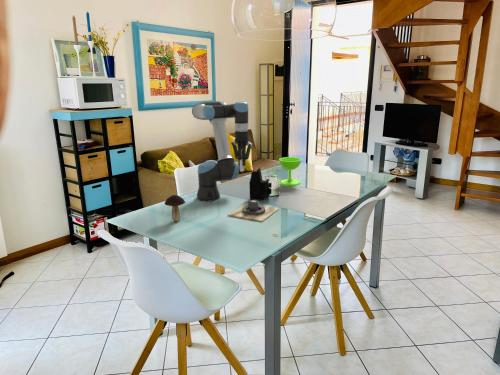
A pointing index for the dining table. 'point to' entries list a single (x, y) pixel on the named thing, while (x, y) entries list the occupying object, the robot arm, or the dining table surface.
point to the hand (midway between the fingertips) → (242, 170)
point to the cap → (253, 205)
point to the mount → (253, 213)
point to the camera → (259, 186)
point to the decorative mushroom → (175, 206)
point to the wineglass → (290, 164)
